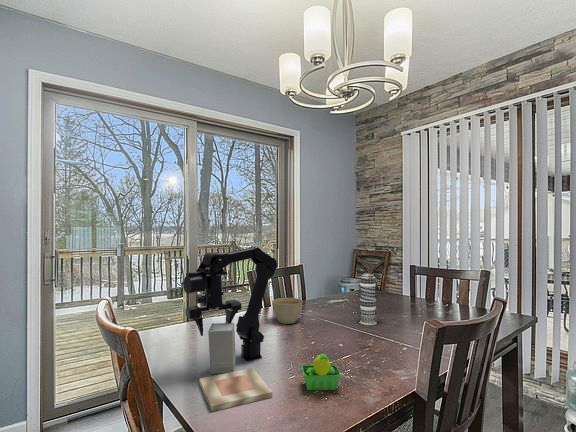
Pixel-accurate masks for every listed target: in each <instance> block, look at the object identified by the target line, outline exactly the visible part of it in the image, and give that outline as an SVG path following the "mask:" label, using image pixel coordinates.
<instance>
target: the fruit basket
mask: <svg viewBox="0 0 576 432" xmlns="http://www.w3.org/2000/svg"><path fill="white" fill-rule="evenodd" d="M301 370H302V375H303V378H304V382H305V387H306V391H328V390H329V391H335V390H337V387H338V383H339V380H340V377H341V373H340V371H339V369H338V366H337V365H336V364H331V362H330V360H329V358H328V356H327V355H326V354H325V353H320V354H319V355H317V356H316V358H314V360H313V361H312V365H311V364H306V365H305V364H304V365H302V366H301Z"/></svg>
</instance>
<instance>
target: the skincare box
mask: <svg viewBox="0 0 576 432" xmlns="http://www.w3.org/2000/svg"><path fill="white" fill-rule="evenodd" d="M235 333H236V330H235V323H234V322H231V323H226V322H222V323H221V322H219V323H217V322H216V323H214V322H213V323H211V325H210V327H209V329H208V332H207V334H208V348H209V349H208V352H209V354H208V355H209V371H210V374H211V375H213V374H216V375H218V374H225V373H230V372H235V368H236V363H237V361H236V360H237V357H236V338H235V337H236V336H235Z"/></svg>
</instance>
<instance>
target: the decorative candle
mask: <svg viewBox="0 0 576 432" xmlns="http://www.w3.org/2000/svg"><path fill="white" fill-rule="evenodd" d="M359 278H360V282H359V284H358V287H359V288H358V290H359V291H358V293H359V294H360V295H359V296H358V297H359V301H360V305H359V307H360V308H359V314H360V315H359V324H362V325H365V326H374V325H377V324H378V323H377V319H378V318H377V306H376V301H377V297H378V296H377V295H378V293H377V292H376V291H378V289H377V287H378V286H377V283H376V276H375V275H374V274H372V273H362V274H361V276H359Z"/></svg>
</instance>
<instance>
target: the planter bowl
mask: <svg viewBox="0 0 576 432" xmlns="http://www.w3.org/2000/svg"><path fill="white" fill-rule="evenodd" d="M271 303H272V305H271V306H272V310H273V313H274V316H275V317H276V319H277V321H278V323H280V324H284V325H288V324H290V325H291V324H296V322H297V320H298V318H299V317H300V314H301V313H302V309H303V300H302V299H301V298H295V297H281V298H276V299H272V301H271Z"/></svg>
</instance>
